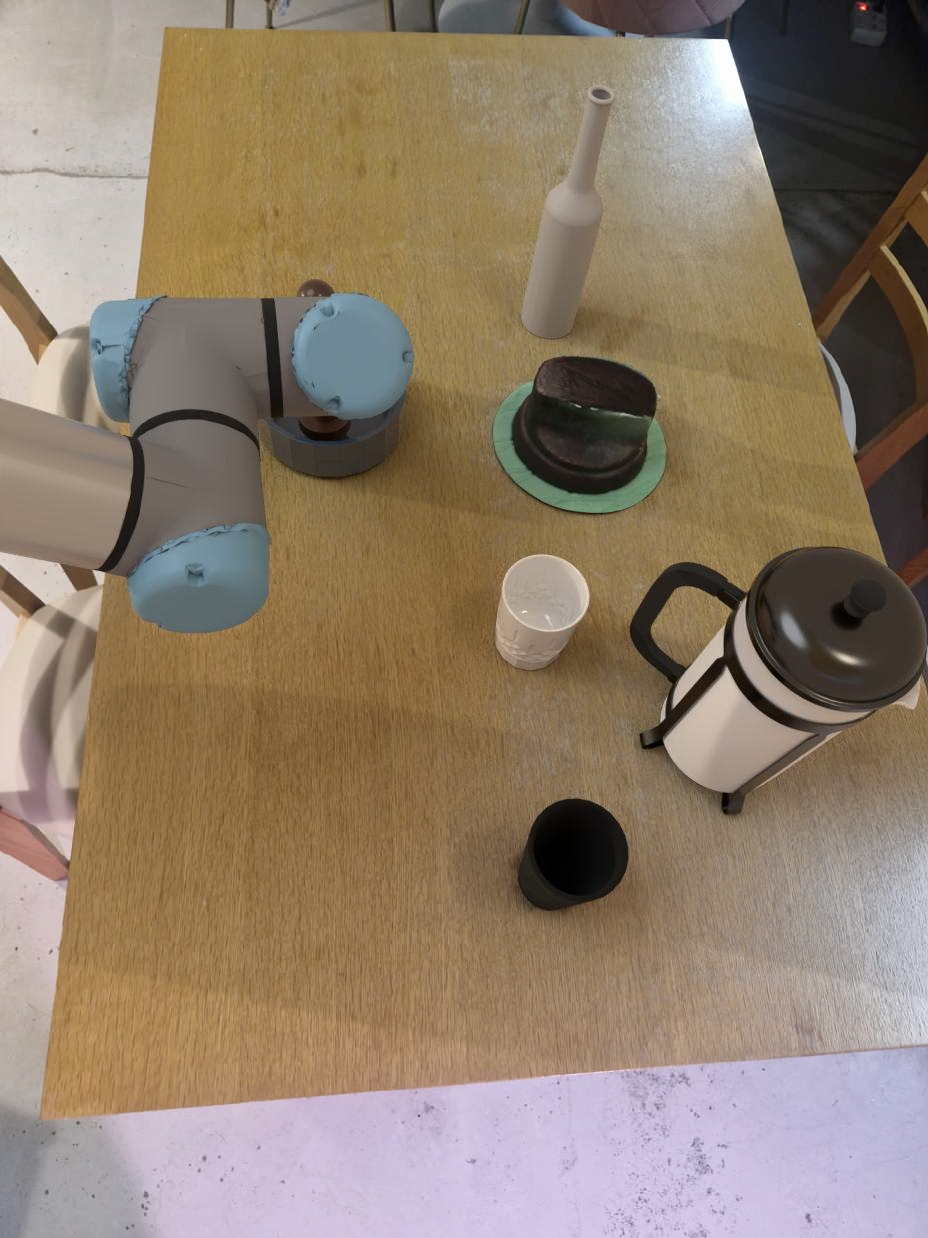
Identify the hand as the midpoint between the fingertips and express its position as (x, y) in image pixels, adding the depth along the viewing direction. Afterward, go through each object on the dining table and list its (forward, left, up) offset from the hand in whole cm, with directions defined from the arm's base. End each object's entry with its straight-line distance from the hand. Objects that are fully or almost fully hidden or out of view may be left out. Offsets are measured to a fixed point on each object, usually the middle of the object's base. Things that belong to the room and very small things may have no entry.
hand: (316, 352), depth 87 cm
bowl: (+1, -1, -9) cm, 9 cm away
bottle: (+27, +16, -9) cm, 33 cm away
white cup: (+21, -28, -9) cm, 37 cm away
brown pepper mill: (+1, -4, -6) cm, 7 cm away
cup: (+21, -51, -9) cm, 56 cm away
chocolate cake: (+29, -3, -9) cm, 31 cm away
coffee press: (+37, -38, -9) cm, 54 cm away
